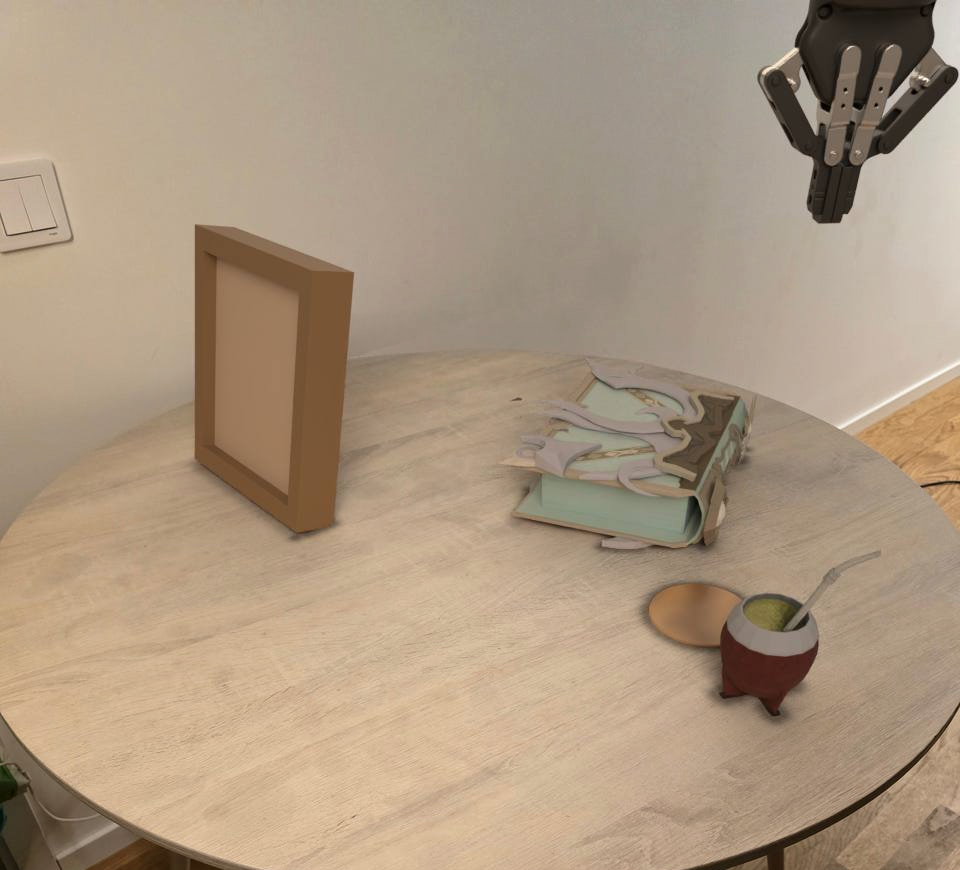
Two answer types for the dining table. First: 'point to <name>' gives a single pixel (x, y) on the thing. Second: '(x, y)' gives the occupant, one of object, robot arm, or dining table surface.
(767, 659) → the mate gourd
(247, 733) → the dining table surface
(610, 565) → the dining table surface
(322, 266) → the photo frame
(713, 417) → the ornate book
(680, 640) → the shallow brown plate
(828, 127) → the robot arm
